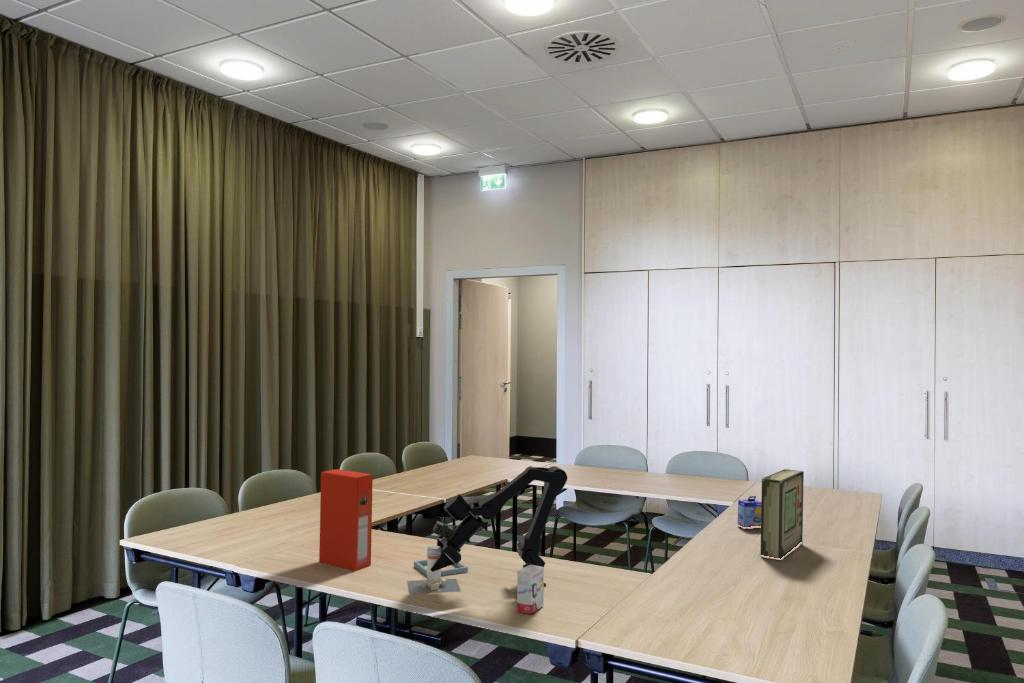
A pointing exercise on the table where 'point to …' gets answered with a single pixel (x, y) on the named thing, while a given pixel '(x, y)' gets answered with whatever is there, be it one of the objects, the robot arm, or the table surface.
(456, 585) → the board
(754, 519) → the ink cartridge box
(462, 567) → the tray
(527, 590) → the ink box
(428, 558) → the white cylinder
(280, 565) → the table surface
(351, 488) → the file binder
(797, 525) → the control panel
